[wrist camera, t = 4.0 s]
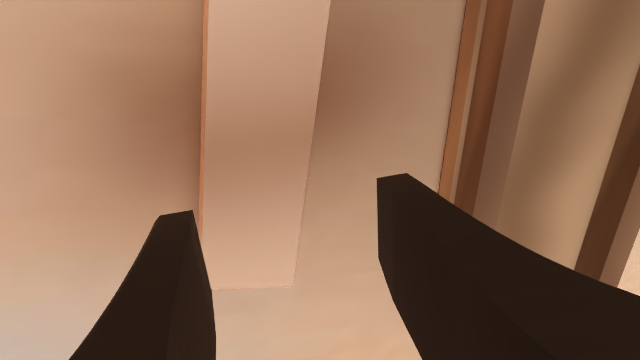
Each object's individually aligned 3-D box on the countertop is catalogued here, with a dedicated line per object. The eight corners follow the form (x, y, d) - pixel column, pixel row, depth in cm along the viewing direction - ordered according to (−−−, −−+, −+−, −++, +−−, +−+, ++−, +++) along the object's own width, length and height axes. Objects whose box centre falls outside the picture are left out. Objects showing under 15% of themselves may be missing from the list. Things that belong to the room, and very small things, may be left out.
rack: (722, -170, 17) (796, -169, 15) (565, 311, 28) (596, 350, 26) (492, -174, 16) (538, -174, 14) (418, 333, 26) (438, 376, 24)
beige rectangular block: (315, -127, 16) (346, -116, 13) (277, 224, 22) (292, 286, 19) (206, -141, 15) (212, -134, 12) (198, 225, 21) (200, 290, 18)
